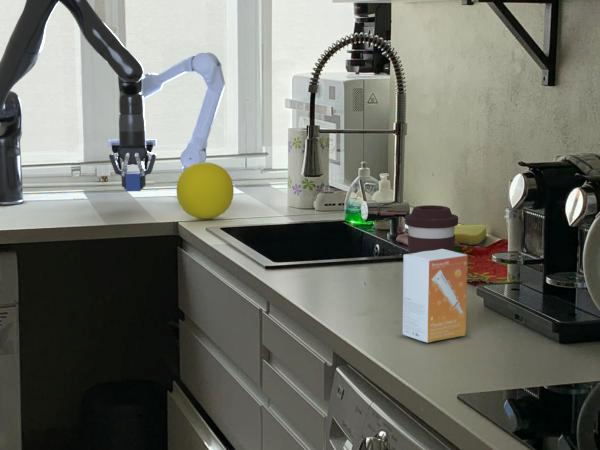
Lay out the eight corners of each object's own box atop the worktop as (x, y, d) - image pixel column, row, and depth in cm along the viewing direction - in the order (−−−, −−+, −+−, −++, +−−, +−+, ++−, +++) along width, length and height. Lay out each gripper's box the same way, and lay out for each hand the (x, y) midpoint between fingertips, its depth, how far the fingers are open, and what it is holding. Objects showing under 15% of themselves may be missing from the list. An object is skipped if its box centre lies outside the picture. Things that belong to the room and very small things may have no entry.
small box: (427, 344, 159) (428, 260, 157) (401, 334, 164) (401, 253, 162) (467, 335, 164) (468, 254, 161) (440, 327, 169) (441, 247, 167)
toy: (224, 212, 289) (223, 158, 287) (240, 220, 275) (239, 164, 273) (171, 216, 284) (169, 161, 282) (185, 224, 270) (183, 166, 268)
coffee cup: (400, 280, 202) (400, 204, 200) (450, 279, 203) (451, 203, 201) (409, 292, 193) (410, 212, 190) (462, 291, 193) (463, 211, 191)
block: (126, 191, 299) (125, 174, 299) (127, 189, 304) (127, 172, 303) (140, 191, 300) (139, 174, 299) (141, 189, 304) (141, 172, 303)
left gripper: (105, 130, 295) (107, 190, 298) (155, 130, 295) (157, 190, 298) (109, 128, 302) (111, 187, 305) (158, 128, 303) (160, 186, 306)
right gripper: (106, 126, 314) (107, 171, 316) (154, 125, 315) (156, 170, 317) (108, 124, 321) (110, 168, 323) (156, 124, 322) (157, 168, 324)
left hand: (134, 188), depth 302 cm, fingers closed on block, 4 cm apart
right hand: (133, 169), depth 321 cm, fingers open, 7 cm apart
